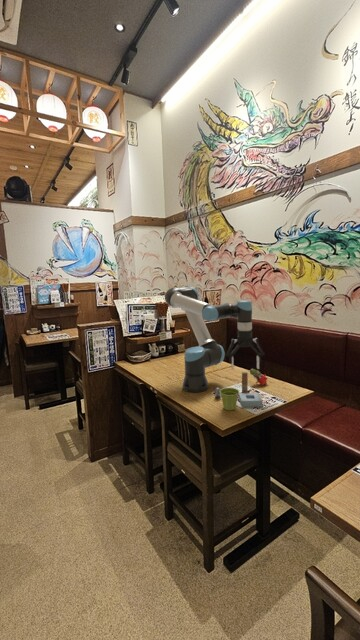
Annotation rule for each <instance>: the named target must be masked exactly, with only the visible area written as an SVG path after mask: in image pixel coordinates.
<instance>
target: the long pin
mask: <svg viewBox="0 0 360 640" xmlns="http://www.w3.org/2000/svg"><path fill="white" fill-rule="evenodd" d="M248 375H249V373H248V372H246V371H242V372H241V393H249V392H248V386H249V385H248Z"/></svg>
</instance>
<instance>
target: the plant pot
mask: <svg viewBox="0 0 360 640" xmlns="http://www.w3.org/2000/svg"><path fill="white" fill-rule="evenodd" d="M220 389H221V390H220V393H221V402H222V406H223V407H222V408H223V409H224V410H226V411H233V410H234V411H235V410H236V409H237V401H238V397H239V393H240V390H239V389H237V388H234V387H224V388H220Z"/></svg>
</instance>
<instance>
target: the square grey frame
mask: <svg viewBox="0 0 360 640" xmlns="http://www.w3.org/2000/svg"><path fill="white" fill-rule="evenodd" d="M238 399H239V404H240V406H241V407H242V408H243V407H244V408H250V407H251V408H253V407H254V408H257V407H259V406H261V407H259V408H262V407H263V399H262V397H261V396H260V394H259V392H248V393H242V392H239V394H238Z"/></svg>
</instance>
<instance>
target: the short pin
mask: <svg viewBox="0 0 360 640" xmlns="http://www.w3.org/2000/svg"><path fill="white" fill-rule="evenodd" d="M221 389H222V388H221V387H218V386H216V387H214V398H215V399H220V398H221V399H222V396H221V393H220V390H221Z"/></svg>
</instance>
